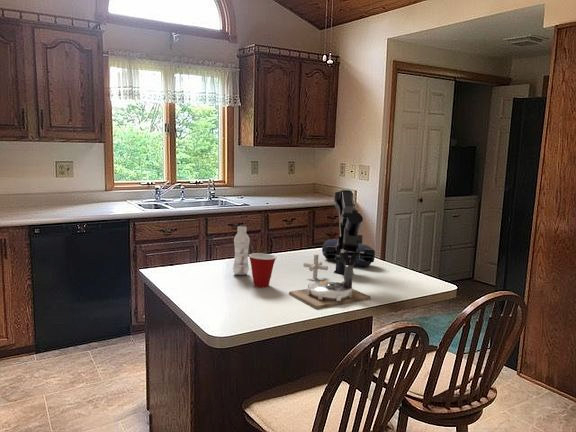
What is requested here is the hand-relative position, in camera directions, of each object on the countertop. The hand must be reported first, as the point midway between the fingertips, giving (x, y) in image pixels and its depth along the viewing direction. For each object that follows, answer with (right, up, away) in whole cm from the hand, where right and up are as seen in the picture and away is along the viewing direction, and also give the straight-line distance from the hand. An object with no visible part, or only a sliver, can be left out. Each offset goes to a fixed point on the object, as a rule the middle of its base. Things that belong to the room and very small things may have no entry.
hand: (348, 273), depth 180 cm
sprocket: (-8, -7, -6) cm, 12 cm away
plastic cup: (-33, -5, +5) cm, 34 cm away
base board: (-8, -8, -6) cm, 12 cm away
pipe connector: (-12, -4, +17) cm, 21 cm away
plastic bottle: (-42, -3, +18) cm, 46 cm away
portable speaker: (+5, -1, +45) cm, 45 cm away
